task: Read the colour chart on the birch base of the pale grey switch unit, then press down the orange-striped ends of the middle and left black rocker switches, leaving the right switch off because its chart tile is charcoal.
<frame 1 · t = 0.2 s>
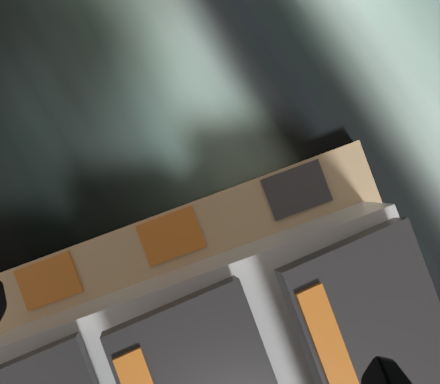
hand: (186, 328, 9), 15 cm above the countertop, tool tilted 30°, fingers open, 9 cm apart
switch unit: (220, 360, 24), on the countertop
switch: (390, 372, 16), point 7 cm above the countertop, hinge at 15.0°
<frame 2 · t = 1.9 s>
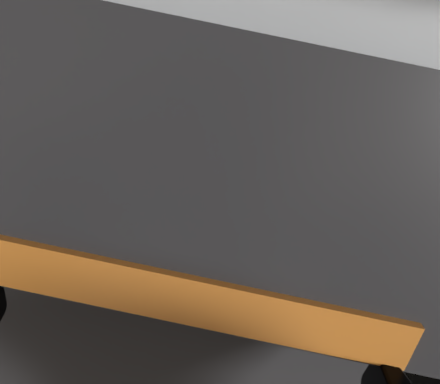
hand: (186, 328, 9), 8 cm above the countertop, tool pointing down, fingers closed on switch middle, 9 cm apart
switch unit: (237, 89, 14), on the countertop
switch middle: (211, 193, 8), point 7 cm above the countertop, hinge at 12.4°, touching gripper
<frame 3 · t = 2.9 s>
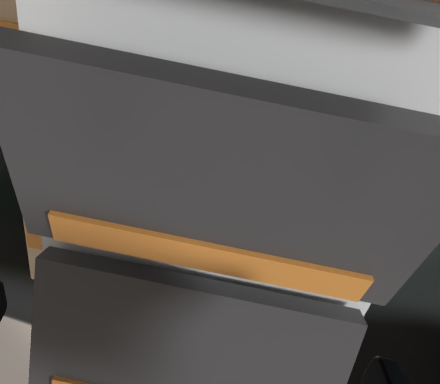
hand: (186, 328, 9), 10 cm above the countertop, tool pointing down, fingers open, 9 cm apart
switch unit: (239, 105, 16), on the countertop
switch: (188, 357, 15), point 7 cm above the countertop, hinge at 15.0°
switch middle: (222, 191, 11), point 7 cm above the countertop, hinge at -10.9°
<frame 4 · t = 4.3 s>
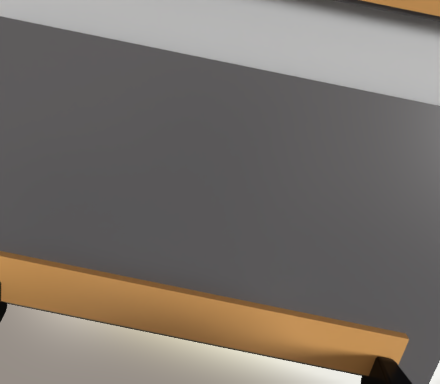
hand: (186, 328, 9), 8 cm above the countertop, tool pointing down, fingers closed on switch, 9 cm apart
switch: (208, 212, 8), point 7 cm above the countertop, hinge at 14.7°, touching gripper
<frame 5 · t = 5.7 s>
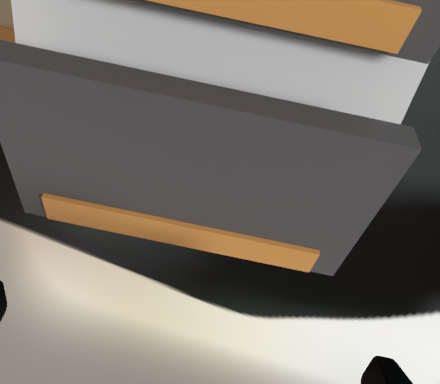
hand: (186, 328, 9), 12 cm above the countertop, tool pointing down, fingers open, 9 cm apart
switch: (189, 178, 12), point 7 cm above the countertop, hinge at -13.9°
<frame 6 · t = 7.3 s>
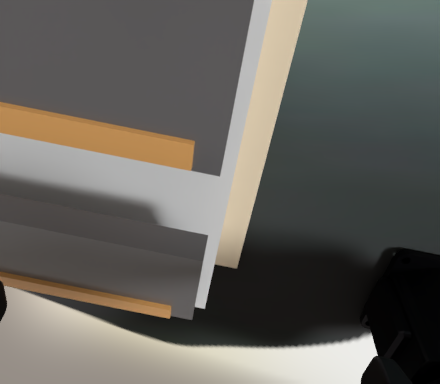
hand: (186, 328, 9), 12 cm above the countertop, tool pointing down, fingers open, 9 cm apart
switch unit: (115, 15, 17), on the countertop
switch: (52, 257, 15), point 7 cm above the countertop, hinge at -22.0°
switch middle: (32, 51, 11), point 7 cm above the countertop, hinge at -17.2°
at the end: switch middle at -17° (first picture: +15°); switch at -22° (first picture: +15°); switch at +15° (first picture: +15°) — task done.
